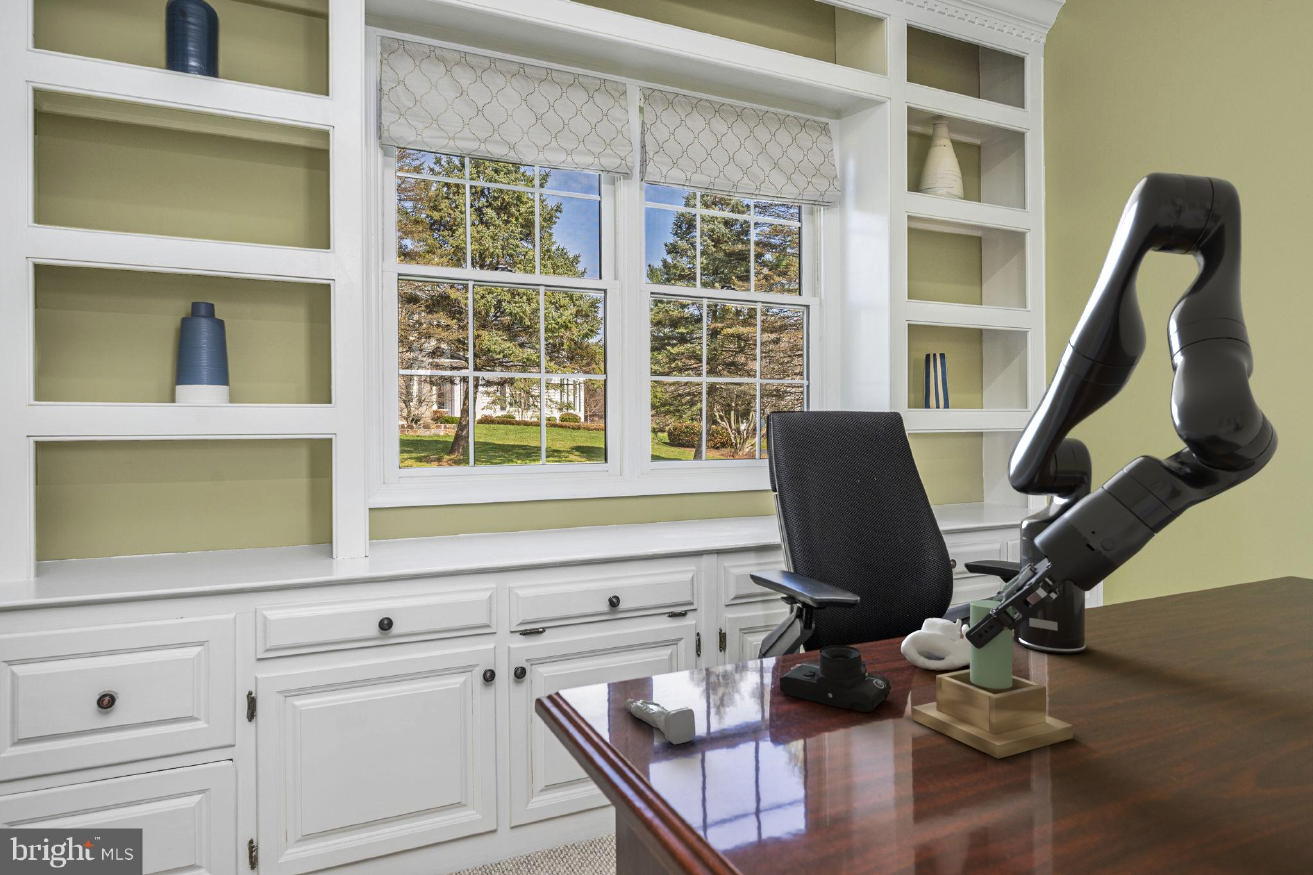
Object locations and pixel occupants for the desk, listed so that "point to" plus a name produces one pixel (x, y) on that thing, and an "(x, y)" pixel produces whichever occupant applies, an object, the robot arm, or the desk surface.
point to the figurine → (666, 720)
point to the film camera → (837, 680)
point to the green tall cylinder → (991, 652)
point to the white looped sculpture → (938, 645)
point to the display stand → (992, 715)
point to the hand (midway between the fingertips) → (972, 636)
